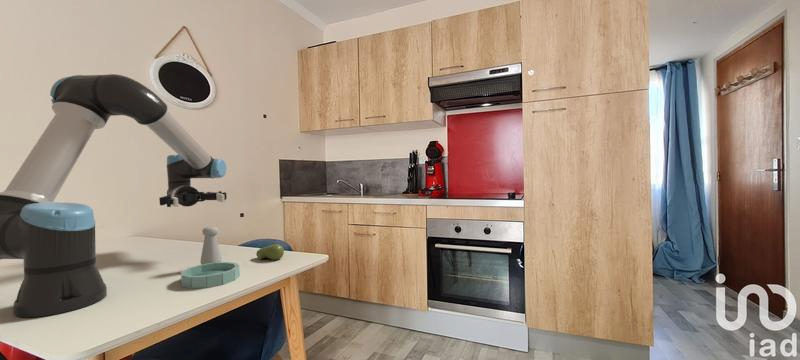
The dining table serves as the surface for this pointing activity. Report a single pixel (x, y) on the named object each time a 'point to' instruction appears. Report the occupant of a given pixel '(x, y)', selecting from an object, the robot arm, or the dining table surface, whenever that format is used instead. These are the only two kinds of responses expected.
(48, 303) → the robot arm
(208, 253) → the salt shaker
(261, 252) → the pear
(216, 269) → the dish
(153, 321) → the dining table surface
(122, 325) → the dining table surface
